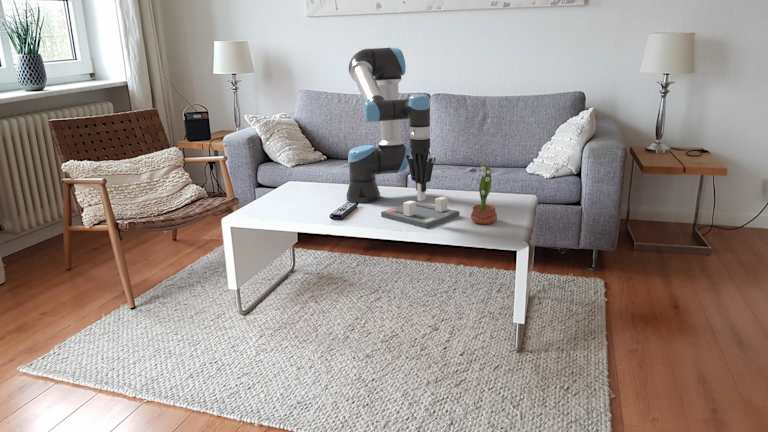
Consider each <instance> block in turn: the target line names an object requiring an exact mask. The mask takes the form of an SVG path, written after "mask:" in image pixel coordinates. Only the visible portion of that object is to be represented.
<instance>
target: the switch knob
mask: <svg viewBox="0 0 768 432" xmlns="http://www.w3.org/2000/svg"><path fill="white" fill-rule="evenodd" d="M434 206H435V211H438V212H443V211H446V210H447V209H448V197H446V196H440V197H436V198H435V199H434Z"/></svg>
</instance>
